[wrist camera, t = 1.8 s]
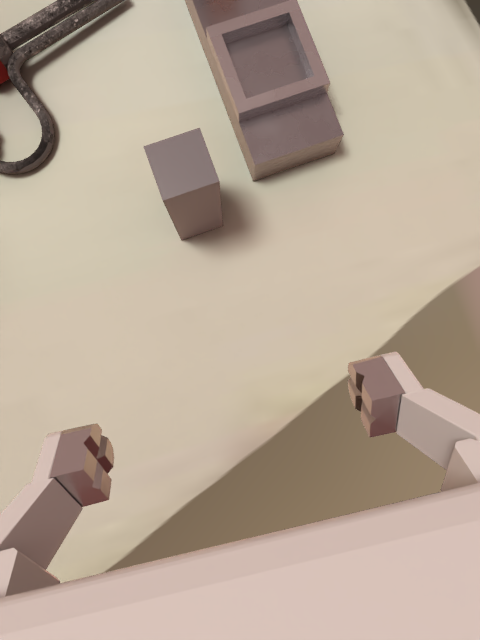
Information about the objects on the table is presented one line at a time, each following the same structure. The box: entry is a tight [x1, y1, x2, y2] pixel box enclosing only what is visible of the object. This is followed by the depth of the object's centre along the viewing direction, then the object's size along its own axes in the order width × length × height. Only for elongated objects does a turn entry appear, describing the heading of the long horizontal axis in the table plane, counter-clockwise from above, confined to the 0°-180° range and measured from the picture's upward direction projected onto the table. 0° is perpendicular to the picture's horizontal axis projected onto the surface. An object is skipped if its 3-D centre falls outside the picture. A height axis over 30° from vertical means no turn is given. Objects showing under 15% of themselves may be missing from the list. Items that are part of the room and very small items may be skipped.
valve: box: [0, 0, 124, 174], centre depth 34 cm, size 6×26×15 cm
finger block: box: [144, 128, 223, 240], centre depth 30 cm, size 4×4×9 cm
